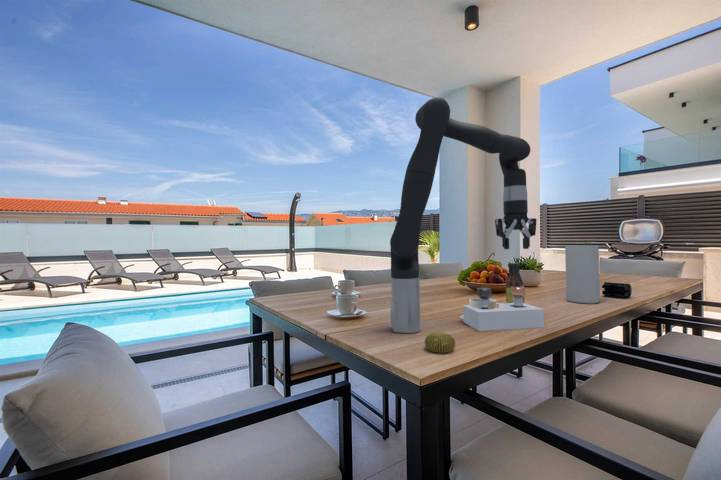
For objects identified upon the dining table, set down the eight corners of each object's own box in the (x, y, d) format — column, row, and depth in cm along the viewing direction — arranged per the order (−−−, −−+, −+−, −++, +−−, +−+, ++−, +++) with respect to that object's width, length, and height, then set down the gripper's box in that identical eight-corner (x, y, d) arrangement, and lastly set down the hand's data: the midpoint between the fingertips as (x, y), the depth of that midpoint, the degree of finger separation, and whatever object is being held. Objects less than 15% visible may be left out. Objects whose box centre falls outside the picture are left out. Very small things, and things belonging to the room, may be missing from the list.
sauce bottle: (527, 317, 124) (525, 263, 124) (508, 317, 126) (507, 263, 126) (522, 313, 131) (520, 262, 131) (504, 313, 132) (503, 262, 132)
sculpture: (418, 334, 92) (438, 329, 97) (418, 349, 92) (438, 343, 97) (440, 341, 85) (461, 335, 90) (441, 357, 85) (461, 350, 90)
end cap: (632, 297, 158) (631, 283, 158) (627, 299, 154) (626, 284, 154) (606, 295, 166) (606, 281, 166) (601, 297, 162) (600, 282, 162)
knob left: (481, 315, 112) (480, 289, 112) (475, 312, 116) (474, 287, 116) (494, 314, 112) (494, 289, 112) (487, 311, 117) (487, 287, 117)
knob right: (515, 313, 113) (515, 288, 113) (508, 310, 118) (507, 286, 118) (528, 312, 114) (528, 287, 114) (520, 309, 118) (520, 286, 118)
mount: (478, 331, 108) (478, 312, 108) (463, 322, 120) (463, 305, 120) (543, 327, 110) (543, 309, 110) (522, 319, 122) (521, 302, 122)
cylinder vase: (605, 301, 150) (603, 245, 150) (592, 305, 143) (590, 246, 143) (574, 298, 160) (572, 245, 160) (561, 301, 153) (559, 246, 153)
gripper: (501, 198, 111) (502, 249, 111) (541, 198, 113) (543, 248, 113) (489, 201, 119) (490, 249, 119) (528, 201, 121) (529, 248, 120)
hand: (516, 248), depth 116 cm, fingers open, 6 cm apart
